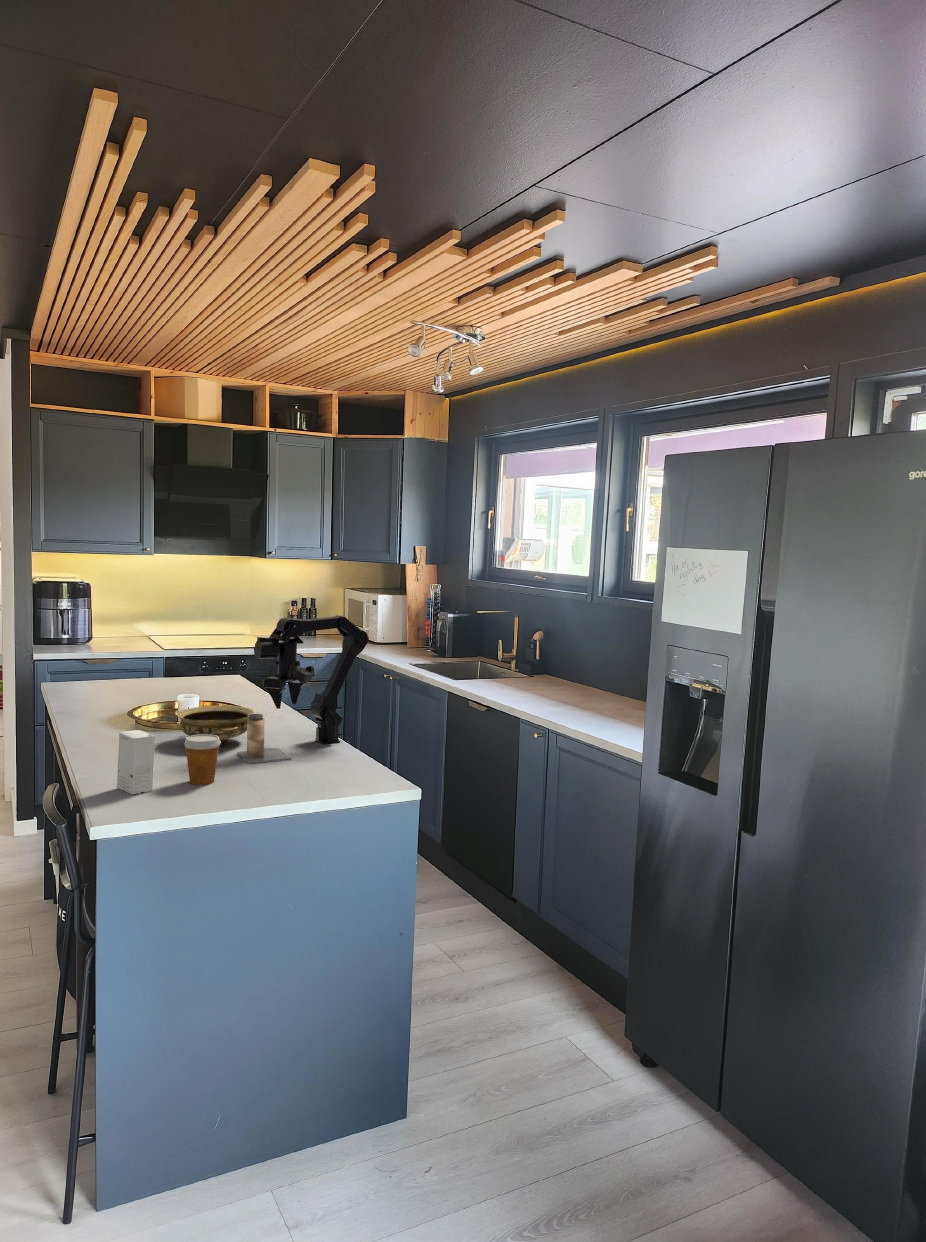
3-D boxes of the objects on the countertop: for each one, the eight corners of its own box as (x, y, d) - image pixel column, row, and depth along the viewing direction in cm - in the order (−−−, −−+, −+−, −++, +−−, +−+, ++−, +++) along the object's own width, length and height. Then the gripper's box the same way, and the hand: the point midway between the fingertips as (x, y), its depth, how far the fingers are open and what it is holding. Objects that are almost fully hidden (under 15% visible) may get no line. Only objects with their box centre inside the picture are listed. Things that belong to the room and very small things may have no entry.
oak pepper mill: (262, 753, 255) (263, 713, 254) (264, 757, 251) (265, 716, 250) (245, 754, 254) (246, 713, 253) (247, 758, 249) (248, 716, 248)
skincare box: (116, 788, 216) (116, 731, 215) (138, 784, 221) (138, 728, 220) (132, 795, 211) (133, 737, 210) (155, 790, 216) (155, 734, 214)
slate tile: (278, 750, 263) (278, 748, 263) (291, 759, 252) (291, 757, 252) (237, 753, 256) (237, 751, 256) (248, 763, 245) (248, 761, 245)
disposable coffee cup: (227, 779, 228) (228, 736, 227) (206, 788, 219) (206, 743, 218) (198, 775, 231) (198, 732, 230) (175, 783, 222) (176, 739, 221)
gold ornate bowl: (163, 737, 274) (163, 707, 273) (234, 730, 288) (234, 701, 288) (194, 757, 250) (194, 724, 249) (269, 748, 264) (270, 717, 263)
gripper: (293, 663, 254) (292, 713, 255) (324, 656, 271) (323, 704, 273) (262, 660, 258) (261, 710, 259) (294, 654, 275) (293, 701, 276)
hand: (286, 706), depth 267 cm, fingers open, 9 cm apart
